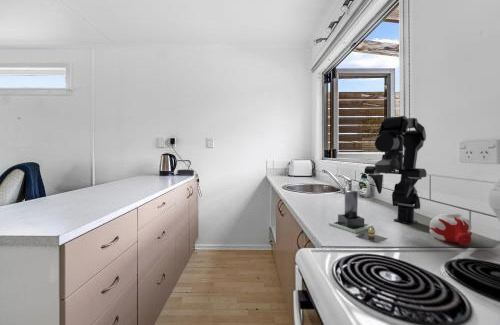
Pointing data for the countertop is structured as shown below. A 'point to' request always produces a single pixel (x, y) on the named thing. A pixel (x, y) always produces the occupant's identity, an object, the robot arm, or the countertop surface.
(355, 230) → the tray
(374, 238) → the base
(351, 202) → the grey cylinder in socket
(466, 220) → the white red flame ovoid
